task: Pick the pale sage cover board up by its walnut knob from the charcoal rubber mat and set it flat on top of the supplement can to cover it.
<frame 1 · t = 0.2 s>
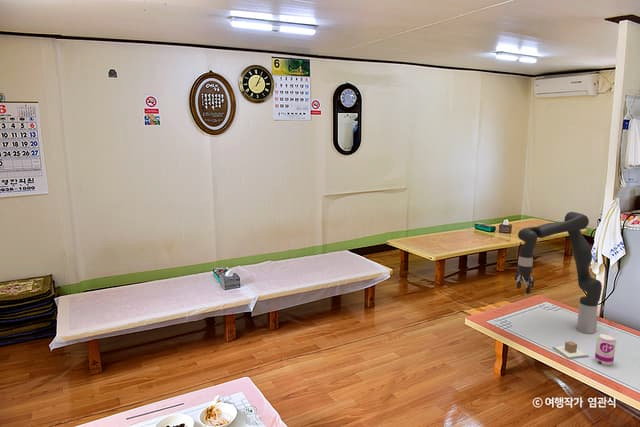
hand: (523, 291, 256), 29 cm above the table, tool pointing down, fingers open, 8 cm apart
cover board: (570, 352, 242), point 1 cm above the table, touching rubber mat
rubber mat: (570, 353, 242), on the table
supplement can: (603, 363, 232), on the table
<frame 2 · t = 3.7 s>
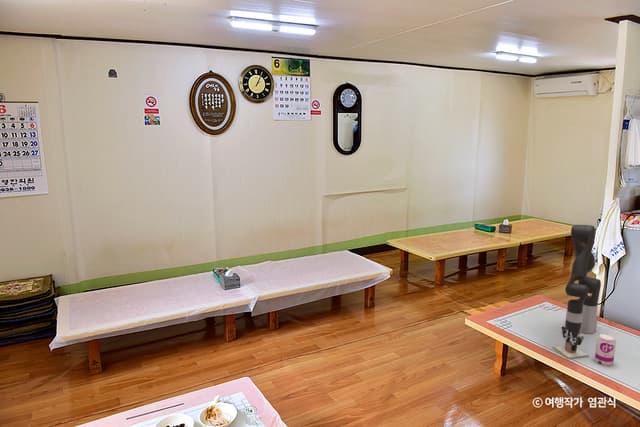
hand: (570, 348, 242), 3 cm above the table, tool pointing down, fingers closed on cover board, 4 cm apart
cover board: (570, 352, 242), point 1 cm above the table, touching gripper, rubber mat
everything else where it was.
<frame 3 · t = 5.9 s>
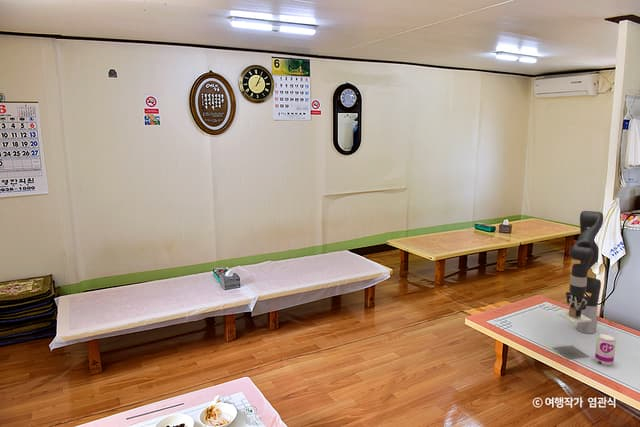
hand: (574, 314, 238), 23 cm above the table, tool pointing down, fingers closed on cover board, 4 cm apart
cover board: (574, 317, 238), point 21 cm above the table, touching gripper
everything else where it was.
when the fingers open (19 cm above the table, at t = 8.0 s): cover board drops 2 cm, resting on supplement can.
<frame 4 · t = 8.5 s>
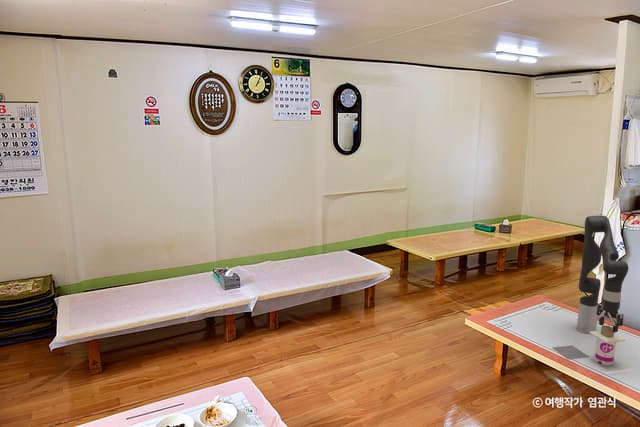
hand: (607, 328, 228), 20 cm above the table, tool pointing down, fingers open, 8 cm apart
cover board: (606, 336, 229), point 15 cm above the table, touching supplement can
supplement can: (603, 363, 232), on the table, touching cover board
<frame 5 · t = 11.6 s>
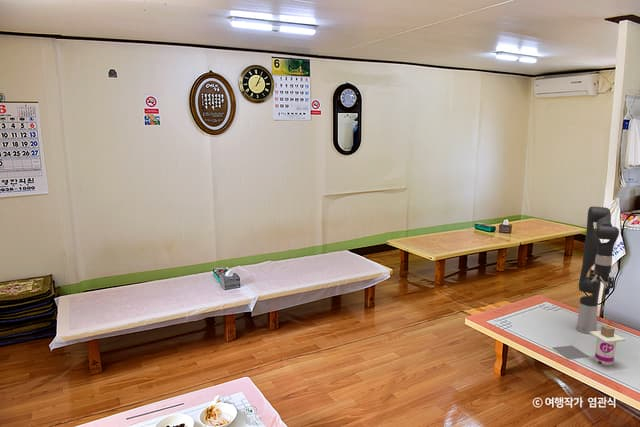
hand: (599, 291, 239), 34 cm above the table, tool pointing down, fingers open, 8 cm apart
nothing on the table moved.
at the end: cover board 0.1 cm from the supplement can (horizontally); cover board point 15.0 cm above the table; supplement can tilted 0° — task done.
